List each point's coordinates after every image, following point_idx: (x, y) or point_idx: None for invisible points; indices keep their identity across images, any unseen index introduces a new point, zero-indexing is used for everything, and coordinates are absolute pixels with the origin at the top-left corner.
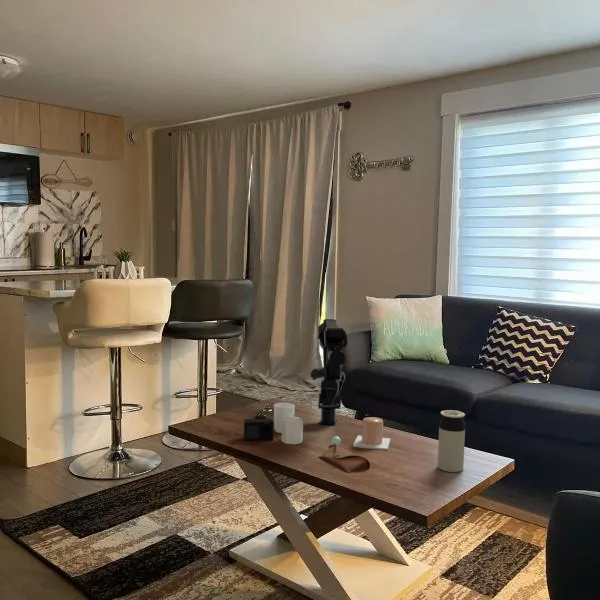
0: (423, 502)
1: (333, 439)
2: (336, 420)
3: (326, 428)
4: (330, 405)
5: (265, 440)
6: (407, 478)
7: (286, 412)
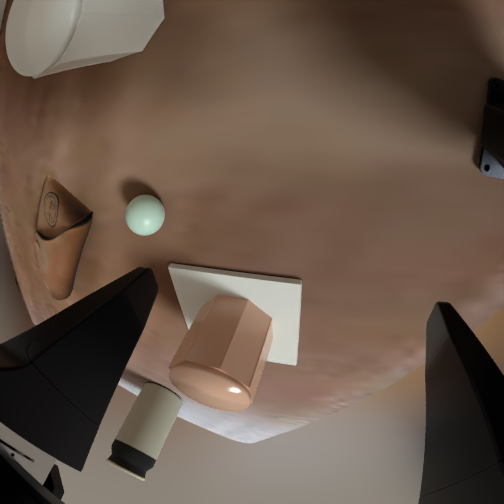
0: None
1: (126, 210)
2: None
3: (421, 122)
4: (147, 275)
5: None
6: None
7: None
